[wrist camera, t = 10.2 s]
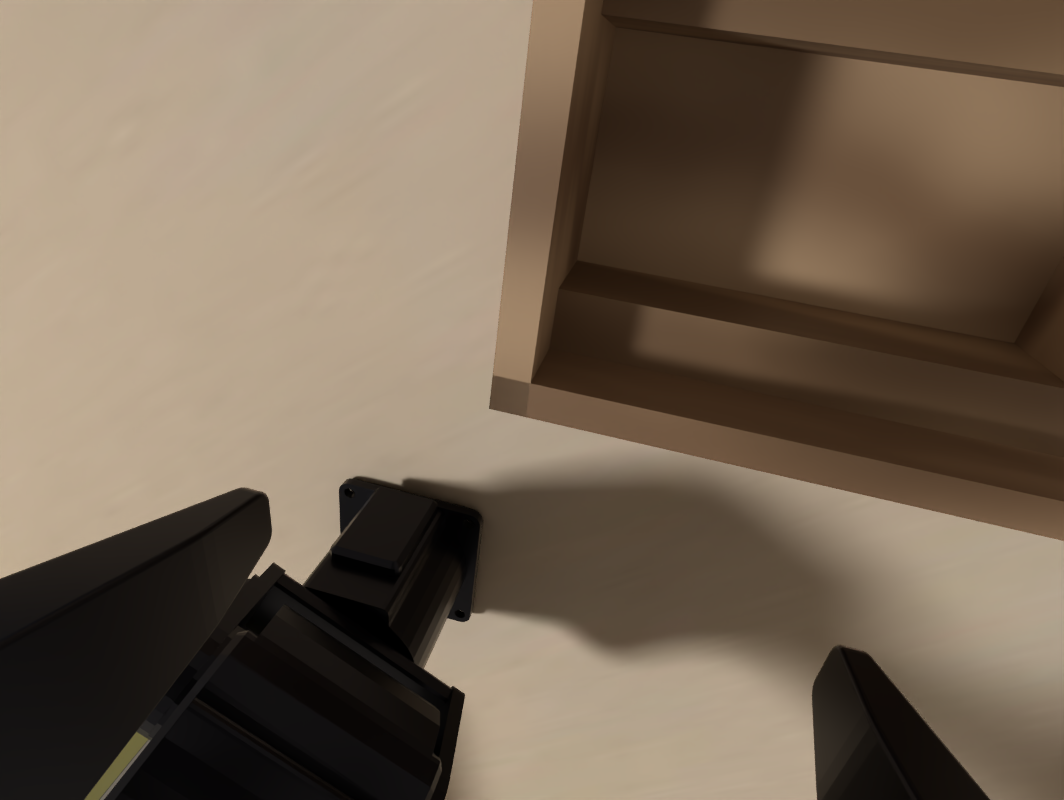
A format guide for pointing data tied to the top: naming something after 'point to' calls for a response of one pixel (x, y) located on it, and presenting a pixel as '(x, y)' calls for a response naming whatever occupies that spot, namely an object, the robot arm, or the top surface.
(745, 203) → the walnut box
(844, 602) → the top surface
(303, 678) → the robot arm
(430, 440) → the top surface
